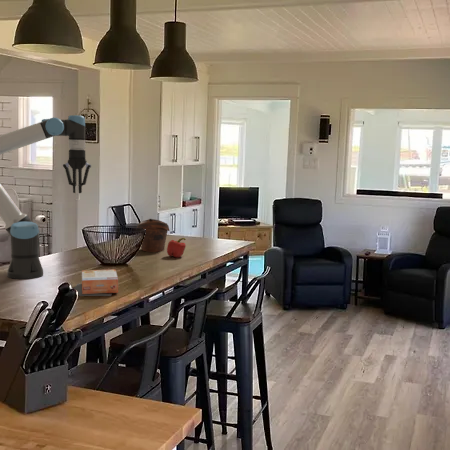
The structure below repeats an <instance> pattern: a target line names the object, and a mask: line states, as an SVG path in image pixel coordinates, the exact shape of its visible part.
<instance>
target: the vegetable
mask: <svg viewBox="0 0 450 450" xmlns="http://www.w3.org/2000/svg"><path fill="white" fill-rule="evenodd" d="M182 240H184V241H186V238H185V237H181V238H179V239H178V240H173V239H172V240H169V241H168V244H167V246H166V247H167V248H166V253H167V255H168V256H169V257H174V258H177V259H178V258H181V257H182V256H183V255H184V252H185V249H186V246H187V245H186V243H185V242H181V241H182Z"/></svg>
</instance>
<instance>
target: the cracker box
mask: <svg viewBox="0 0 450 450" xmlns="http://www.w3.org/2000/svg"><path fill="white" fill-rule="evenodd" d="M81 284H82V294H98V293H112V294H117V293H119V277H118V273H117V270H116V268H115V269H114V268H113V269H92V270H89V269H87V270H85V269H84V270H81Z"/></svg>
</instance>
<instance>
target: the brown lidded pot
mask: <svg viewBox="0 0 450 450" xmlns="http://www.w3.org/2000/svg"><path fill="white" fill-rule="evenodd" d="M137 228H143V229H146V234H145V237H144V240H143V243H142V246H141V245H140V247H141V251H142V252H148V253H156V252H157V253H159V252H163V251H164V250H165V247H166V242H167V236H168V232H170V227H169V225H168V223H166V222H164V221H162V220H159V219H153V218H148V219H146V220H143V221H141V222H139V223H138V224H137V226H136V229H137Z"/></svg>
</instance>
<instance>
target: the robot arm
mask: <svg viewBox="0 0 450 450" xmlns="http://www.w3.org/2000/svg"><path fill="white" fill-rule="evenodd" d="M53 137H68V149H69V150H68V160H67V162H65V163H64V164H62V166H63V168H64V170H65V173H66V178H67V182H68V185H70V186H72V193H73V194H75V195H74V197H75V199H74V200H75V201H80V200H81V199H80V197H81V195H80V194H82V192H83V189H82V188H83V186H85V185H86V184H87V180H88V176H89V171H90V168H92V164H91V163H90V164H89V163H88V162H87V159H86V150H85V149H86V118H85V116H83V115H74V114H73V115H69V116H68V118H67V119H61V118H59V117H51V118H42V119H41V121H39V122H37V123H34V124H31V125H28V126H25V127H21V128H19V129H16V130H13V131H10V132H7V133H4V134H1V135H0V155H3V154H7V153H9V152H13V151H14V150H18V149H20V148H24V147H26V146H29V145H32V144H35V143H39V142H42V141H44V140H47V139H50V138H53ZM69 167H70V168H71V169H72V176H71V173H70V169H69ZM84 167H85V170H84V171H85V172H84V174H83V168H84ZM77 172H78V175H77ZM77 177H78V179H77ZM77 181H78V185H77ZM0 219H2V221H3V222H4V224H5V225H4V226H5V227H4V229H5V230H6V232H7V234H9V236H10V261H9V262H10V263H9V265H8V268H7V273H6V275H7V277H8V278H9V279H19V280H22V279H23V280H26V279H35V278H40V277H42V276H44V269H43V266H42V263H41V259H40V256H39V255H40V251H39V250H40V247H39V246H40V245H39V243H40V242H39V240H40V239H39V238H40V229H39V225H38V223H36V222H33V221H32V219H31V217H29V215H28V214H27V213H24V212H22V211H21V210H20V208H19V207H18V206H17V204H16V203H15V201H14V200H13V199H12V197H11V196H10V194H9V193H8V191H7V190H6V189H5V188H4V186H3V185H2V183H1V182H0Z"/></svg>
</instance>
